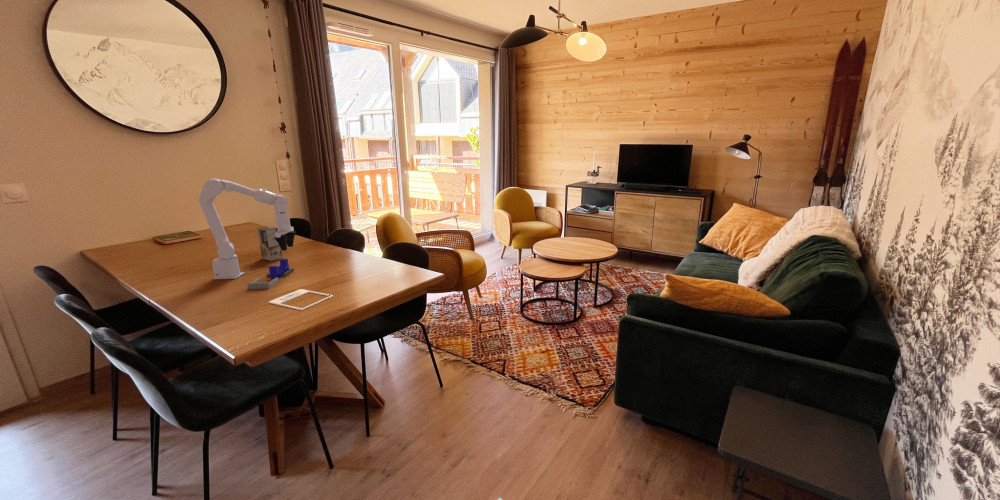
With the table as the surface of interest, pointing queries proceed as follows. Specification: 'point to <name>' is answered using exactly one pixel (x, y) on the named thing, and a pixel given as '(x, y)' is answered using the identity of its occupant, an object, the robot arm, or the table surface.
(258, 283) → the bracket
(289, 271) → the guide channel
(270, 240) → the coffee box
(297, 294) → the photo frame
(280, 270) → the cable clip
